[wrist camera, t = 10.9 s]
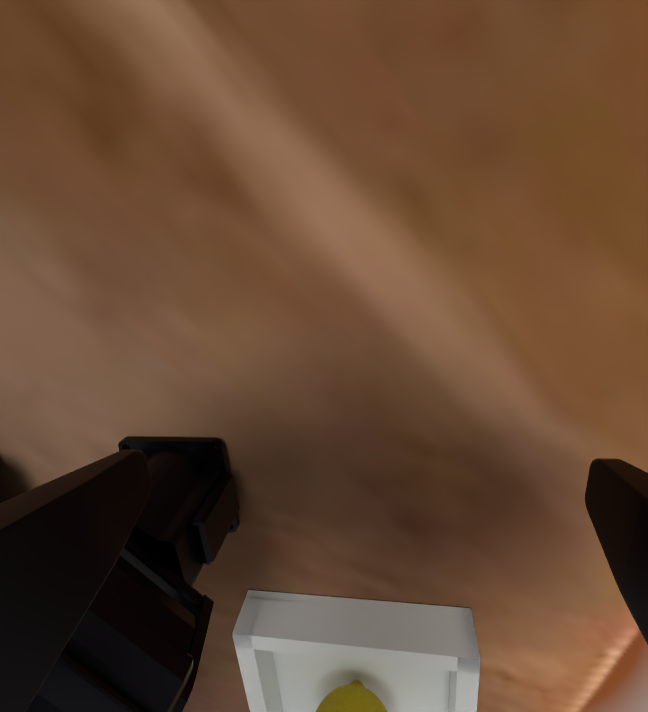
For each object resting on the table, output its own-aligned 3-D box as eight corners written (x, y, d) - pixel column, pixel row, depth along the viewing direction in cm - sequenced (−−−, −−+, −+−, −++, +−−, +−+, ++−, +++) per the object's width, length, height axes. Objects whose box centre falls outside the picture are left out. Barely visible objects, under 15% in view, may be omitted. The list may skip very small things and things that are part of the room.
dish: (274, 721, 32) (263, 770, 29) (248, 589, 27) (231, 633, 25) (462, 748, 30) (469, 804, 27) (470, 608, 25) (480, 659, 22)
